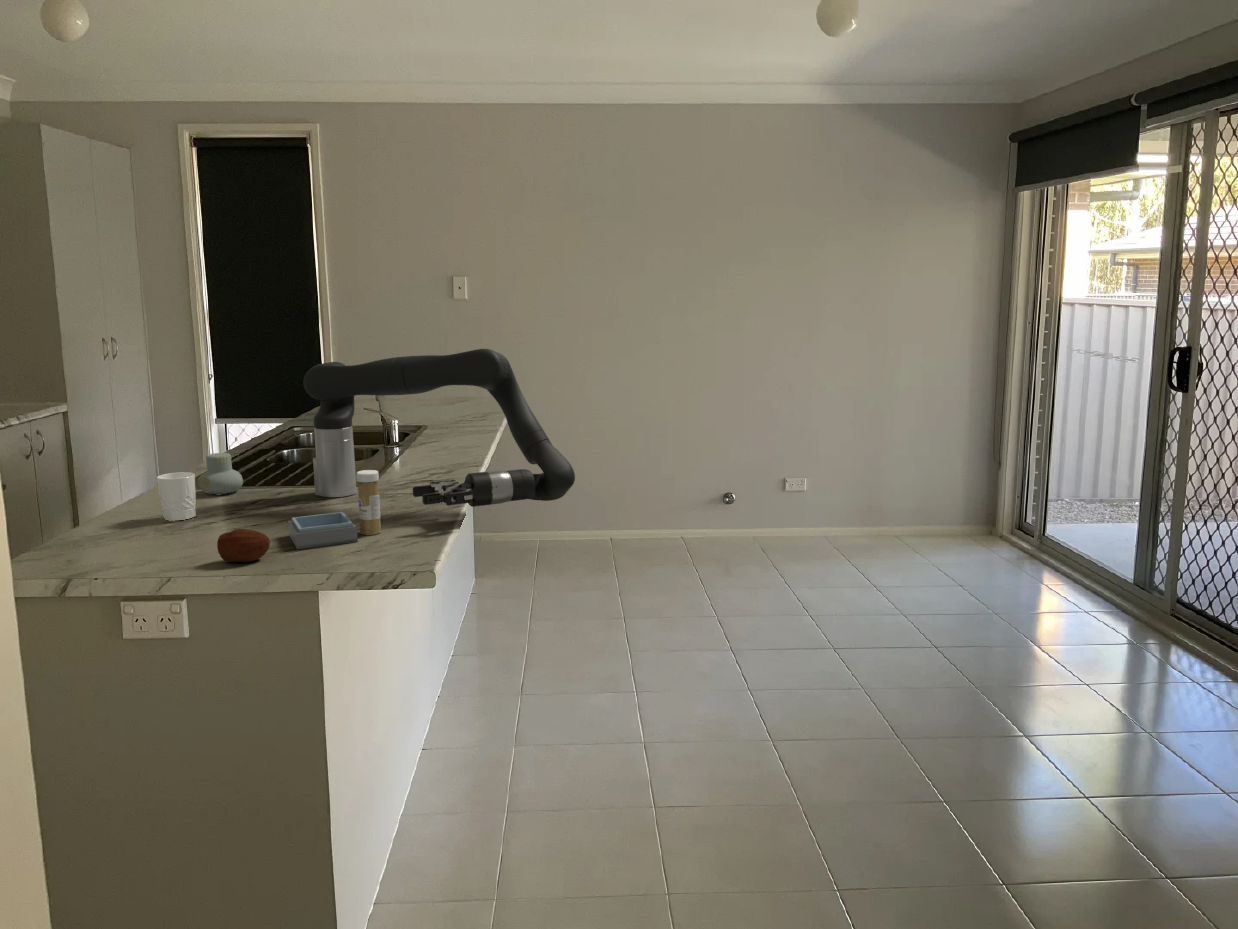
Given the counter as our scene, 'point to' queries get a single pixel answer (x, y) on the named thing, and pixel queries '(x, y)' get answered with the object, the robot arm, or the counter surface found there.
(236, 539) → the potato
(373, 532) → the sprinkles bottle
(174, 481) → the white cup
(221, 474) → the air freshener
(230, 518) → the counter surface
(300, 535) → the blue square tray
